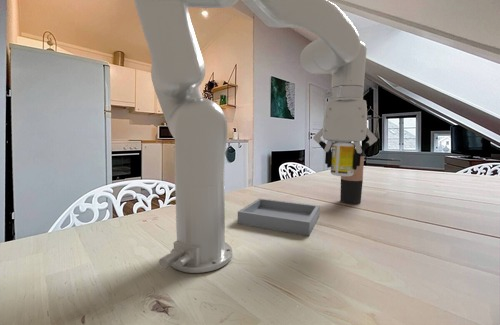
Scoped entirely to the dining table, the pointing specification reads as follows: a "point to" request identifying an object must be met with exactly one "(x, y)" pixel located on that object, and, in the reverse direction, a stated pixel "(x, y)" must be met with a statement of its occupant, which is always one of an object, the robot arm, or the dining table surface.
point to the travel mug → (353, 185)
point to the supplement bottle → (342, 158)
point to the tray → (280, 216)
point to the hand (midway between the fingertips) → (341, 167)
